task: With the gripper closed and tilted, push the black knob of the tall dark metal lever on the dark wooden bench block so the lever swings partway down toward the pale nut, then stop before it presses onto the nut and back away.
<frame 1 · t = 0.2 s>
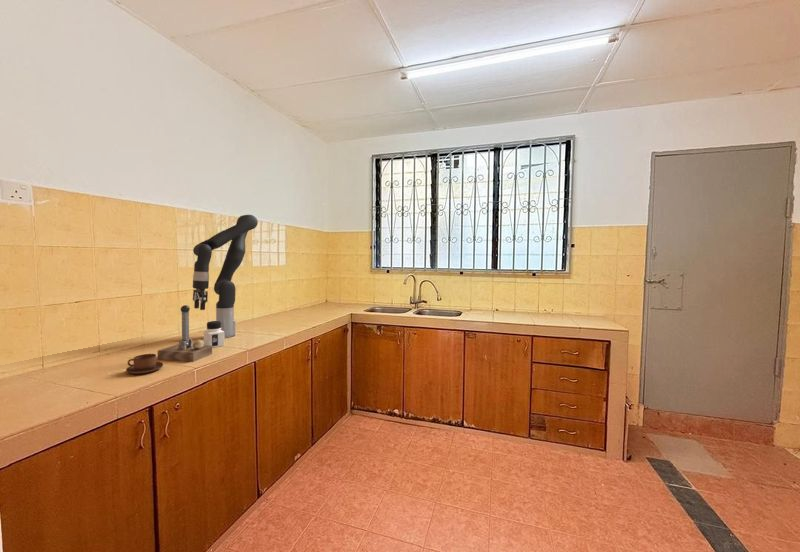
hand: (199, 309, 181), 18 cm above the countertop, tool pointing down, fingers open, 8 cm apart
container: (214, 345, 174), on the countertop
cup and saucer: (145, 371, 134), on the countertop
lever: (185, 326, 153), point 14 cm above the countertop, hinge at 0.0°
bench block: (185, 356, 154), on the countertop
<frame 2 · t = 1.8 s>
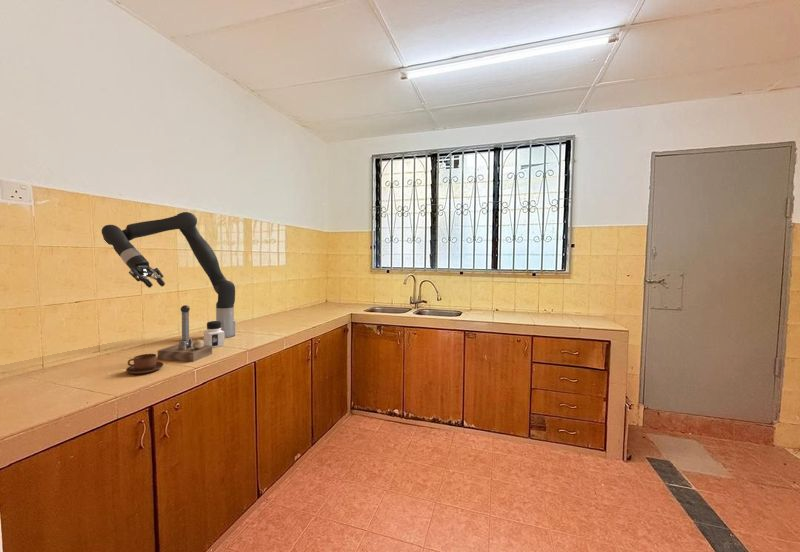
hand: (157, 285, 154), 33 cm above the countertop, tool tilted 45°, fingers open, 6 cm apart
nothing on the countertop moved.
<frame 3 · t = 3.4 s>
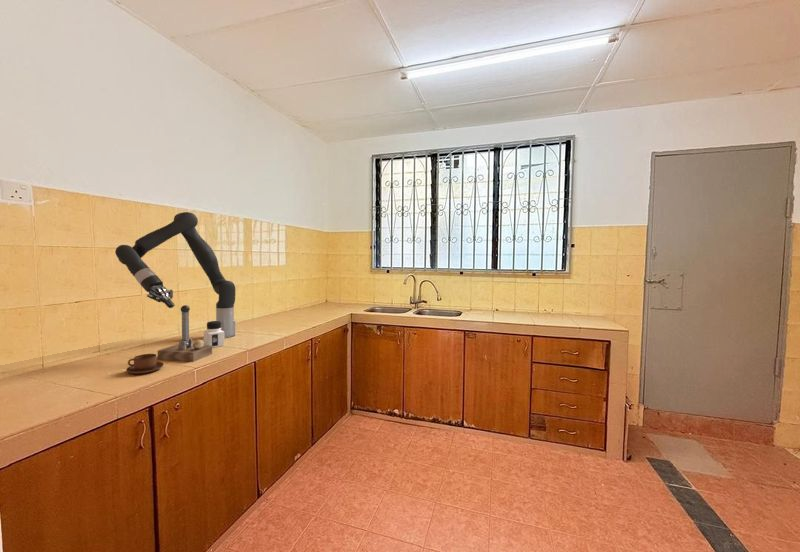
hand: (172, 306, 154), 23 cm above the countertop, tool tilted 45°, fingers closed
nothing on the countertop moved.
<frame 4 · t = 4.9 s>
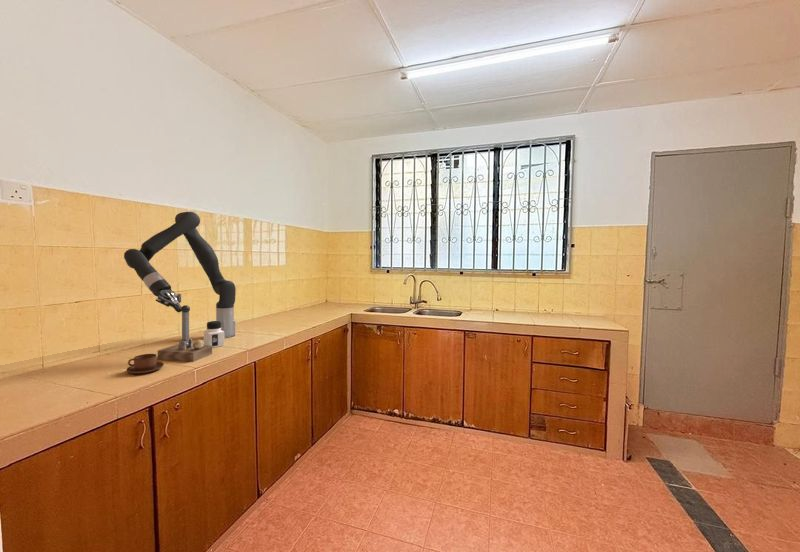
hand: (180, 311, 153), 21 cm above the countertop, tool tilted 45°, fingers closed
lever: (185, 326, 153), point 14 cm above the countertop, hinge at 0.5°, touching gripper
everything else where it was.
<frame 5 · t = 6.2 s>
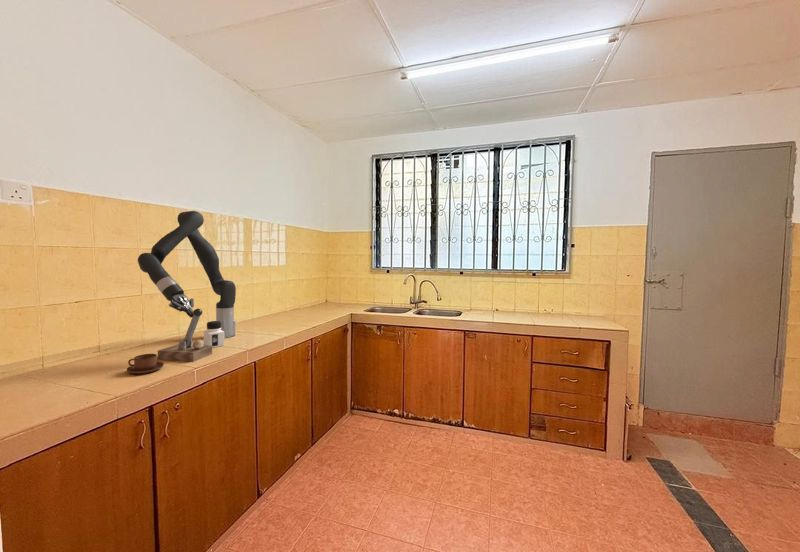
hand: (193, 316, 152), 19 cm above the countertop, tool tilted 45°, fingers closed
lever: (191, 328, 153), point 14 cm above the countertop, hinge at 22.5°, touching gripper
everything else where it was.
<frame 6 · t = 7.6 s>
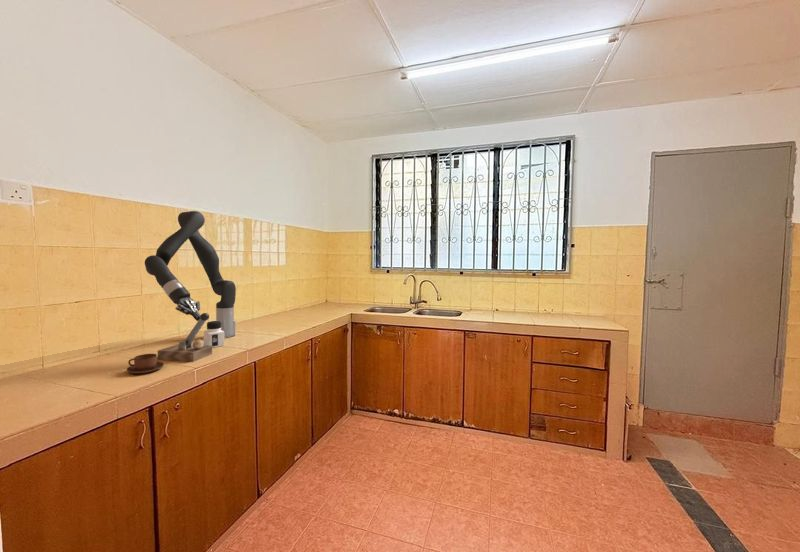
hand: (199, 319, 152), 18 cm above the countertop, tool tilted 45°, fingers closed
lever: (195, 330, 153), point 13 cm above the countertop, hinge at 35.8°, touching gripper
everything else where it was.
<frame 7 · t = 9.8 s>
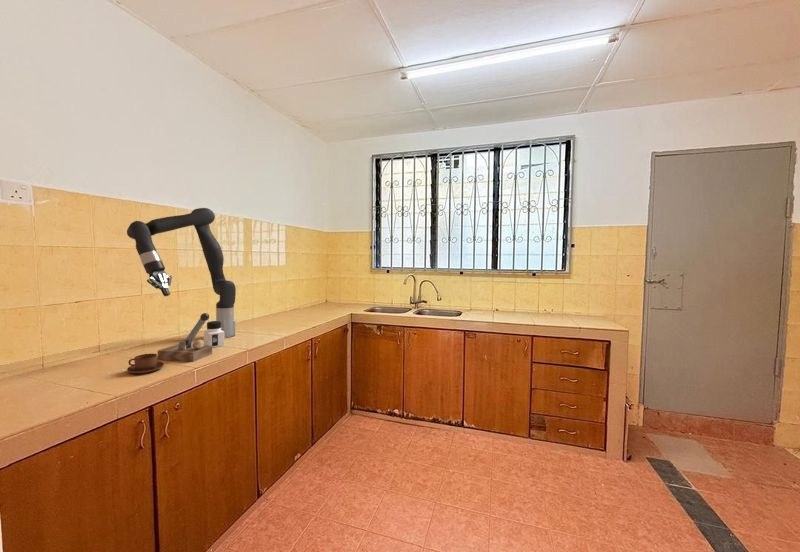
hand: (167, 295, 157), 28 cm above the countertop, tool tilted 25°, fingers closed
lever: (195, 330, 153), point 13 cm above the countertop, hinge at 36.0°
everything else where it was.
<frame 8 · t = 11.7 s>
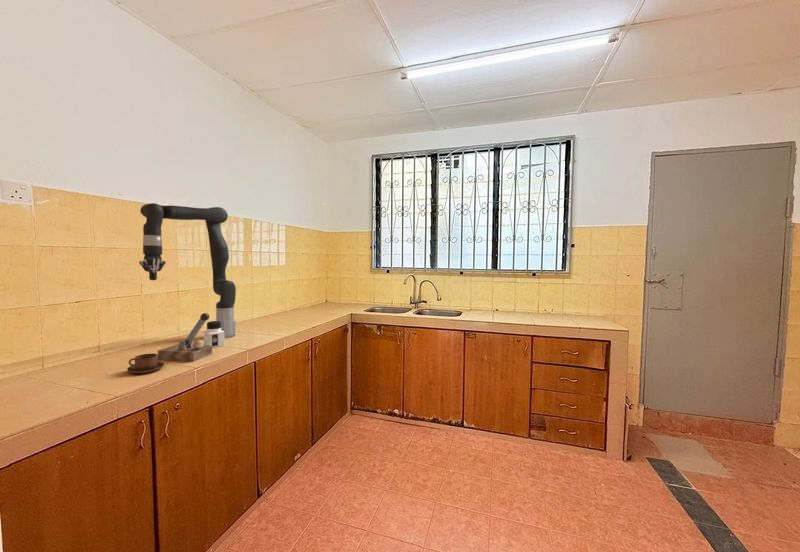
hand: (153, 280, 161), 35 cm above the countertop, tool pointing down, fingers closed
nothing on the countertop moved.
at the end: lever at +36° (first picture: +0°) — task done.
